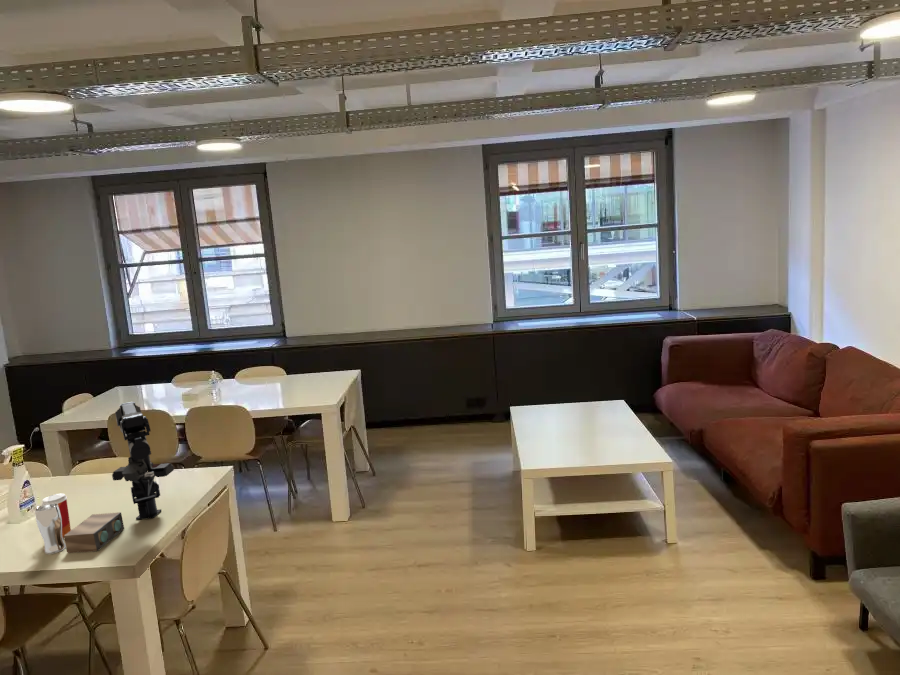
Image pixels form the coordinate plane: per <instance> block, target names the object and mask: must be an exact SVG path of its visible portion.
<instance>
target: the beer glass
mask: <svg viewBox="0 0 900 675" xmlns="http://www.w3.org/2000/svg"><path fill="white" fill-rule="evenodd" d="M34 514H35V522H36V524H37V529H38V532H39V533H40V536H41V538H42V539H43V542H44V543H43V544H44V554H45V555H53V554H58V553H60V552H63V551H64V550H65V549H66V544H65V540H64V538H63V537H62V518H61V513H60V510H59V507H58V504H57V503H49V504H45V505H42V504H41V505H39V506H37V507H36V508H34Z"/></svg>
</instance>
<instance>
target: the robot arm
mask: <svg viewBox="0 0 900 675" xmlns="http://www.w3.org/2000/svg"><path fill="white" fill-rule="evenodd" d="M115 421H116V425H117V427H119V428H120V429H119V430H120V432H121V433H122V436H123V440H124V441H127V447H128V451H129V457H128V463H127V465H126V466H120V467H119V468H117V469H116V470H114V471H113V472H112V474H111V476H112V480H113V481H121V480H123V478H124V480H125V482H131V486H132V487H130V493H131V498H132V502H133V505H135V504H137V512H138V516H136V517H135V520H145V519H147V520H148V519H154V518H155V517H156V516H157V515H159V513H161V512H162V509H158V507H157V502H156V499H159V498H160V496H161V492H160V491H161V490H160V484H158V483H157V480H155V477H156V478H162V477H163V478H164V477H167V476H168V475H170V474H171V473H172V472H174V471H175V470H174V465H173V464H172V463H171V462H170V463H168V462H166V463H160V464H159V465H157V466H156V467H153V466H154V462H151V461H152V460H151V457H150V456H151V455H152V451H151V446H150V444H149V442H148V441H147V436H150V432H152V431H151V427H150V422H149V419H148V418H147V416H146V415H145V416H144V415H143V413H142V411H141V407H140V406H139V405H136V402H135V401H128V402H123V403H121V404H119V408H118V409H117V410H116V411H115Z"/></svg>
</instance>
